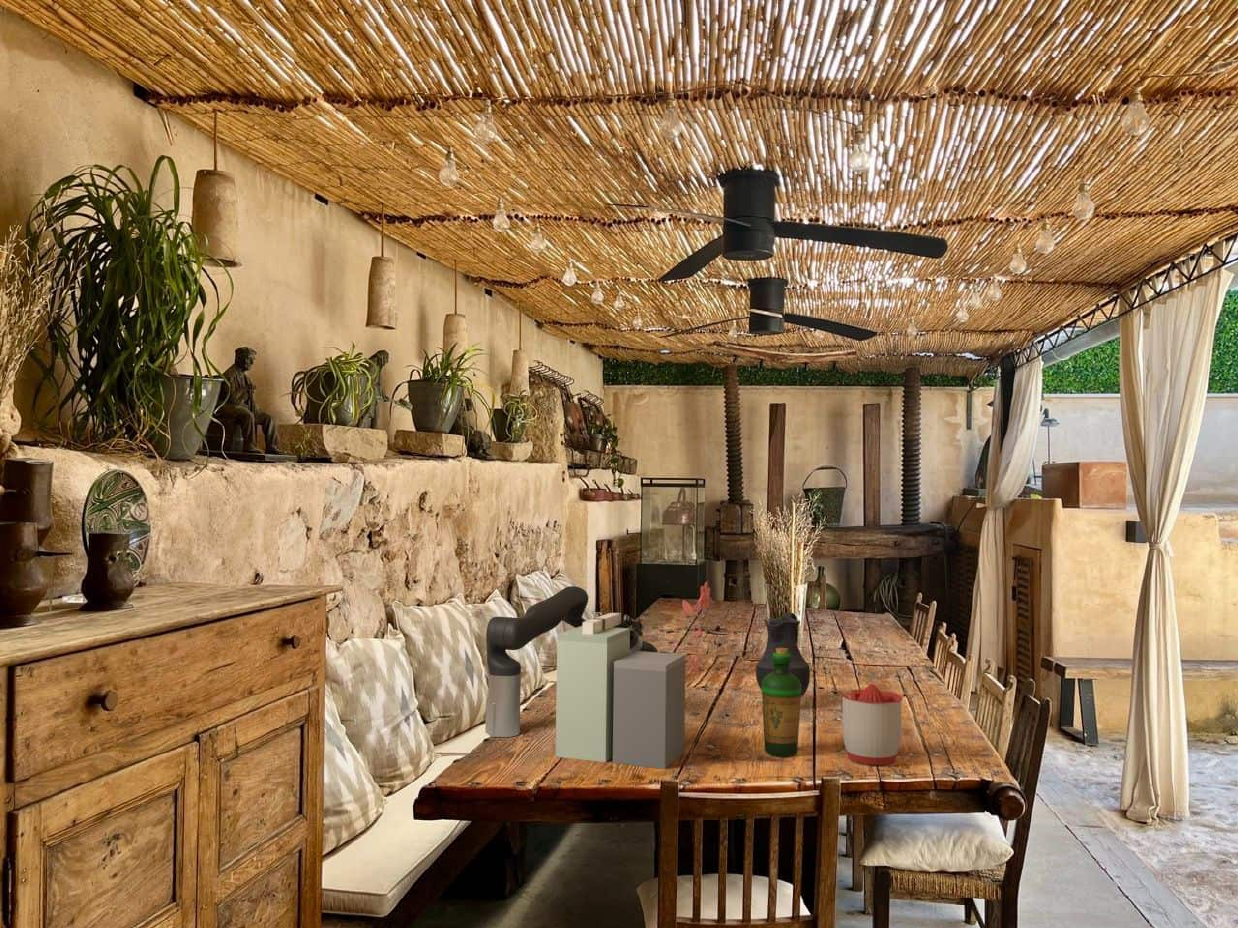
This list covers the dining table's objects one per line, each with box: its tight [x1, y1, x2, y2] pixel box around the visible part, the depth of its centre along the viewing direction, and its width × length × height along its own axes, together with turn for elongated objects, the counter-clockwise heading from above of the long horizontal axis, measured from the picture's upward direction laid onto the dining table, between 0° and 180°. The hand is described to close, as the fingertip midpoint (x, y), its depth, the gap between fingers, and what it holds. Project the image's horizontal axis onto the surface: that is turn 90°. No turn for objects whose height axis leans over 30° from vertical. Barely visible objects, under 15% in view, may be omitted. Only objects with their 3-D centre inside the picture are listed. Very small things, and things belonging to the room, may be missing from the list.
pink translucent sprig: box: [681, 581, 725, 677], centre depth 375 cm, size 15×26×35 cm, turn 158°
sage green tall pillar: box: [555, 626, 630, 763], centre depth 262 cm, size 18×14×32 cm
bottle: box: [761, 648, 802, 758], centre depth 262 cm, size 11×11×28 cm
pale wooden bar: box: [582, 612, 622, 634], centre depth 268 cm, size 22×3×3 cm, turn 160°
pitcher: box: [755, 611, 811, 698], centre depth 319 cm, size 17×21×30 cm
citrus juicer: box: [836, 683, 903, 766], centre depth 257 cm, size 16×17×20 cm
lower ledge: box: [612, 651, 686, 770], centre depth 257 cm, size 18×14×26 cm
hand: (611, 616), depth 275 cm, fingers open, 8 cm apart
